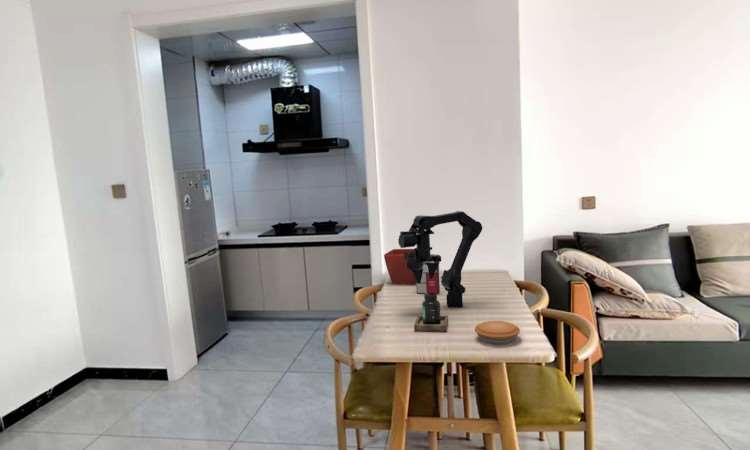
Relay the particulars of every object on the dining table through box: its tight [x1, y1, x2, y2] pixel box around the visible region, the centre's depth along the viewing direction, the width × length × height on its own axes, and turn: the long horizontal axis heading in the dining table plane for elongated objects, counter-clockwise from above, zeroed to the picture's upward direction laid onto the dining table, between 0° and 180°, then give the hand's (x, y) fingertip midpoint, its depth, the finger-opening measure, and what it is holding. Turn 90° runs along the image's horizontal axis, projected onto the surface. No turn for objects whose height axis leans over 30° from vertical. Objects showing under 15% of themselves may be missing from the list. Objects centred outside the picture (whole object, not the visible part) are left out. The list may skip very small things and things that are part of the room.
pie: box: [474, 320, 521, 345], centre depth 164 cm, size 16×16×5 cm
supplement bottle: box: [421, 293, 441, 325], centre depth 180 cm, size 7×7×12 cm
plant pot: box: [383, 248, 418, 285], centre depth 255 cm, size 19×19×17 cm
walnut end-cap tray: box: [413, 314, 449, 333], centre depth 181 cm, size 12×12×2 cm
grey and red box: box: [415, 263, 441, 295], centre depth 229 cm, size 11×4×15 cm, turn 68°
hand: (425, 281), depth 200 cm, fingers open, 9 cm apart
